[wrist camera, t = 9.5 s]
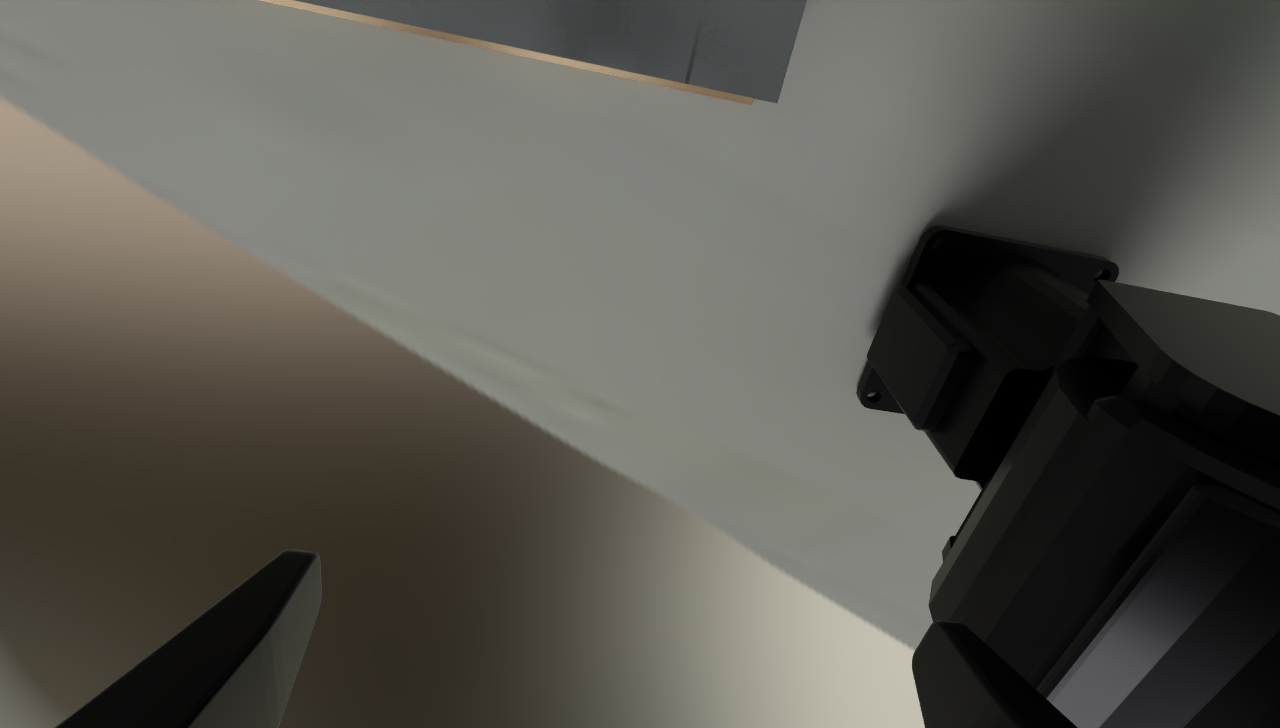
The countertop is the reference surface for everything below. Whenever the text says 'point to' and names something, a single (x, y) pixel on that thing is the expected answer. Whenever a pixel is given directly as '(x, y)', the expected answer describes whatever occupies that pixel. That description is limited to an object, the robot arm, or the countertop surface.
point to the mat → (512, 50)
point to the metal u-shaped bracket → (625, 34)
